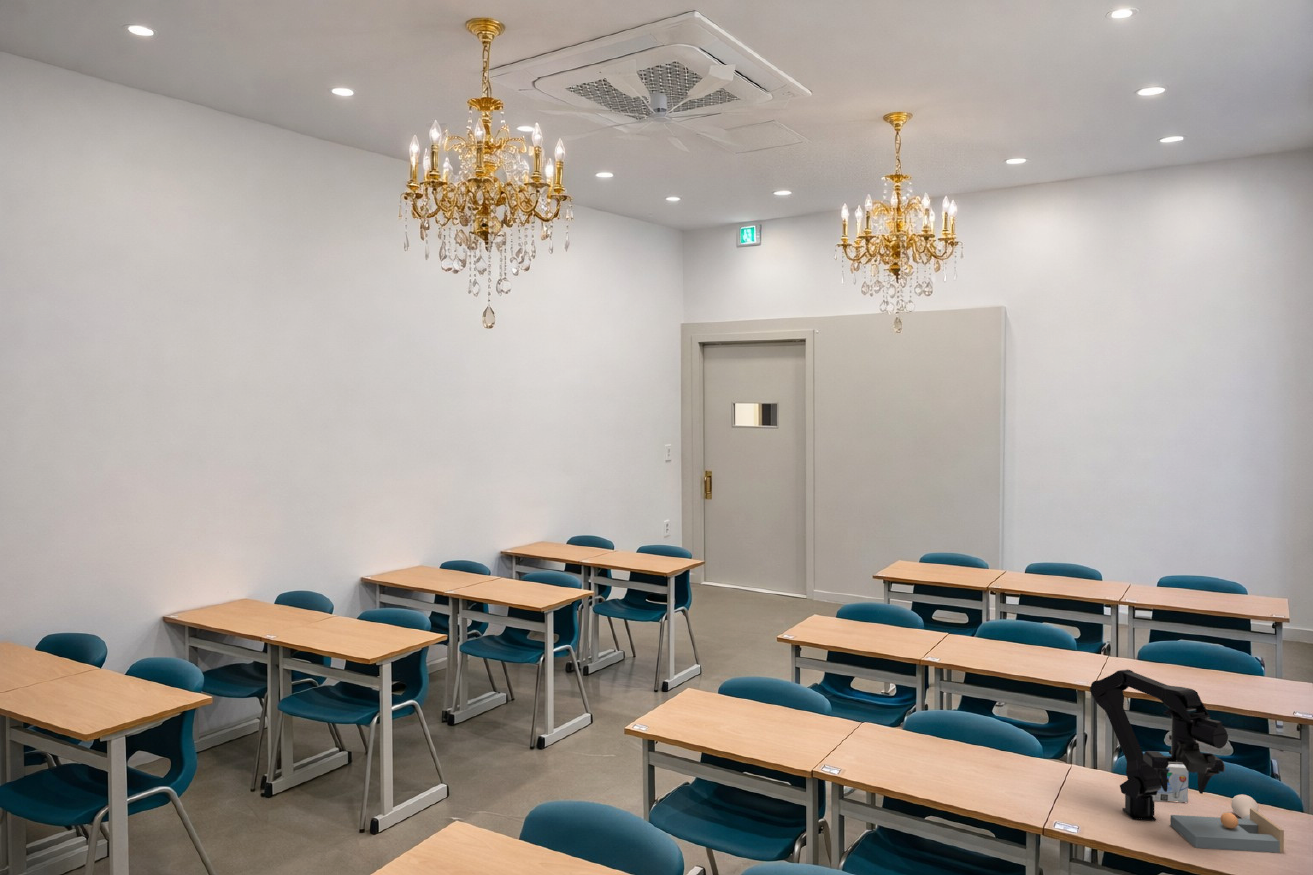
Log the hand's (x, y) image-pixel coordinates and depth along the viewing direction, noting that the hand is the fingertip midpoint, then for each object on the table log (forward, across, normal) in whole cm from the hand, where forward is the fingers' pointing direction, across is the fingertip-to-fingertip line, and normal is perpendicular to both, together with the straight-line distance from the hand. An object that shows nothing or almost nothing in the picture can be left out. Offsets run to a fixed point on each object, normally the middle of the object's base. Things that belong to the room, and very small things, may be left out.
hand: (1182, 792), depth 228 cm
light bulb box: (+12, +8, +26) cm, 30 cm away
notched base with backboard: (+12, +11, 0) cm, 16 cm away
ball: (+7, +12, 0) cm, 14 cm away
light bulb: (+12, +24, +13) cm, 30 cm away
